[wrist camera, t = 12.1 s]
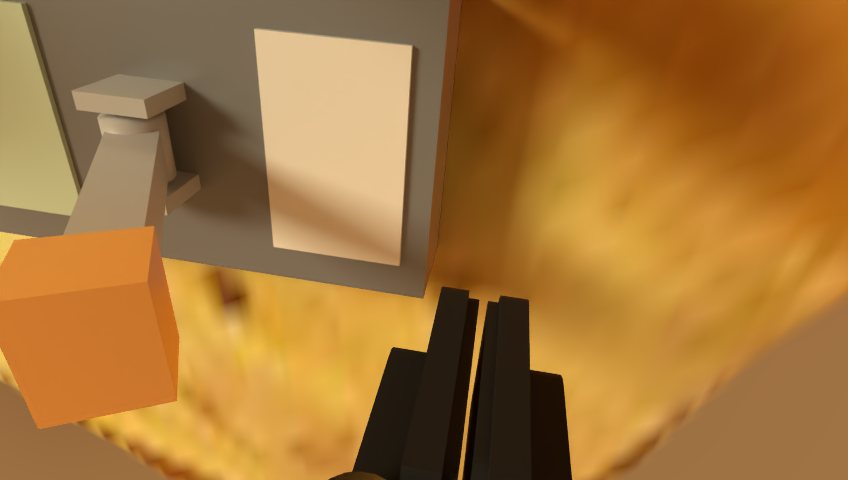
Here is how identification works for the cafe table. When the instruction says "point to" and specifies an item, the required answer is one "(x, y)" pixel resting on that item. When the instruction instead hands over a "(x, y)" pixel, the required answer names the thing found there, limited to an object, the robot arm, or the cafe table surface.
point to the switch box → (244, 126)
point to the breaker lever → (98, 288)
